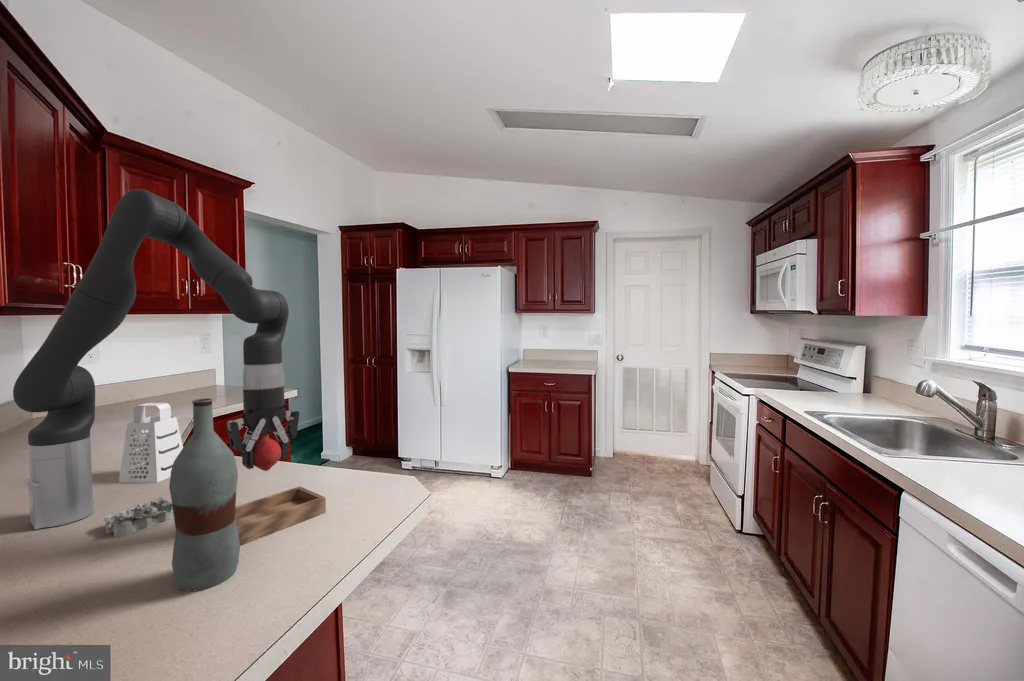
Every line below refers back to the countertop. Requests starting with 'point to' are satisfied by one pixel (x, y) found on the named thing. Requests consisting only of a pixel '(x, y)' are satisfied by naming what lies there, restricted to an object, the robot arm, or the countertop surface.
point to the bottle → (204, 506)
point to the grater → (150, 445)
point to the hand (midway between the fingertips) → (265, 463)
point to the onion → (266, 452)
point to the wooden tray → (277, 513)
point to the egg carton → (138, 517)
